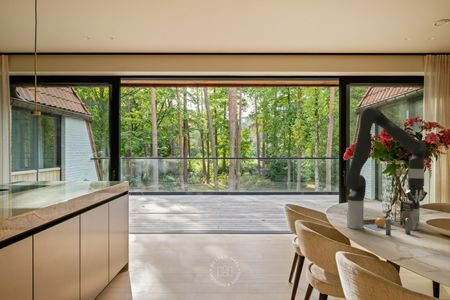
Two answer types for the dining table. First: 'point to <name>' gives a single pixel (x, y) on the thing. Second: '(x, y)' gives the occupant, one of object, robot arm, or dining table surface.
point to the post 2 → (408, 226)
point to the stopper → (369, 221)
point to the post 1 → (388, 226)
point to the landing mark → (377, 227)
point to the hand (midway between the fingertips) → (415, 209)
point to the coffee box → (409, 214)
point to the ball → (380, 222)
